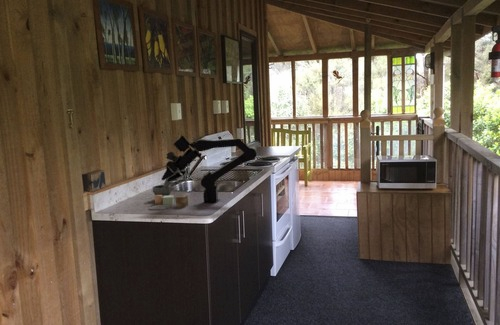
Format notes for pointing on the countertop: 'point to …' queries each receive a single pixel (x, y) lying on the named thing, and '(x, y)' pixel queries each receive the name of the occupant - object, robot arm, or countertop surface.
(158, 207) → the slate coaster
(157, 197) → the dome-topped tan cylinder
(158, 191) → the mortar and pestle
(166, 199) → the sage block
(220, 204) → the countertop surface
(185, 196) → the walnut block
